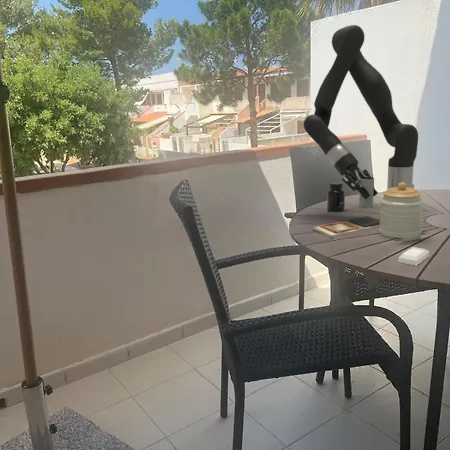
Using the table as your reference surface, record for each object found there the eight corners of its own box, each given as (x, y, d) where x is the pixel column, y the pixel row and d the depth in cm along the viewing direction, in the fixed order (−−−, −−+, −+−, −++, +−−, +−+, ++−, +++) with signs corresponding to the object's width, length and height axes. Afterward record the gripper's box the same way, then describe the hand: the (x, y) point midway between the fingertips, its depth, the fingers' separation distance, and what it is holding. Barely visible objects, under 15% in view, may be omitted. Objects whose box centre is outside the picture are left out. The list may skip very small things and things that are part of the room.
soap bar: (398, 263, 120) (398, 254, 119) (411, 254, 126) (411, 245, 125) (416, 267, 116) (417, 257, 116) (428, 257, 122) (429, 248, 122)
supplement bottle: (345, 214, 170) (345, 184, 167) (327, 214, 172) (327, 185, 169) (344, 210, 177) (344, 181, 174) (326, 210, 178) (327, 181, 175)
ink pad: (367, 218, 159) (367, 216, 159) (385, 223, 151) (385, 221, 151) (347, 221, 156) (347, 219, 156) (364, 227, 148) (365, 225, 148)
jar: (417, 243, 133) (421, 187, 128) (374, 239, 140) (376, 185, 135) (424, 232, 143) (427, 179, 139) (383, 228, 150) (385, 178, 145)
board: (371, 219, 162) (371, 214, 161) (393, 226, 152) (393, 221, 151) (312, 230, 152) (312, 225, 152) (331, 238, 142) (331, 233, 142)
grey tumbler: (357, 205, 154) (358, 177, 152) (369, 205, 155) (371, 176, 152) (362, 208, 150) (363, 179, 147) (374, 208, 150) (376, 178, 148)
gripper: (337, 154, 148) (368, 193, 143) (359, 150, 157) (389, 186, 152) (324, 168, 153) (353, 206, 148) (346, 163, 162) (374, 199, 157)
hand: (371, 196), depth 150 cm, fingers closed on grey tumbler, 4 cm apart
